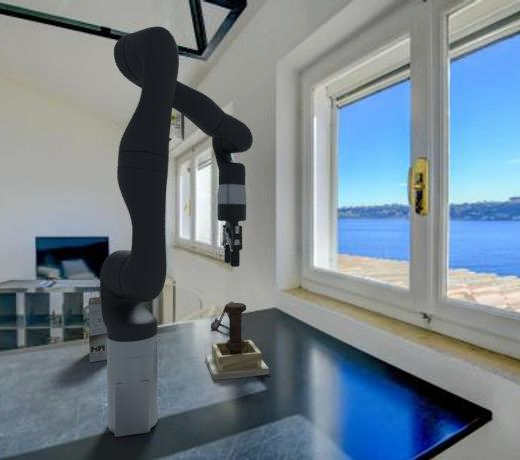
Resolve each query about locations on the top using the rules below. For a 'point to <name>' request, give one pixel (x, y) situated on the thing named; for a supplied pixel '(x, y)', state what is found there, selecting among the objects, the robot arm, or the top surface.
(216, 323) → the portable electronic device stand
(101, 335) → the coffee box
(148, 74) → the robot arm
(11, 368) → the top surface
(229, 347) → the bolt
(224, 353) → the board
